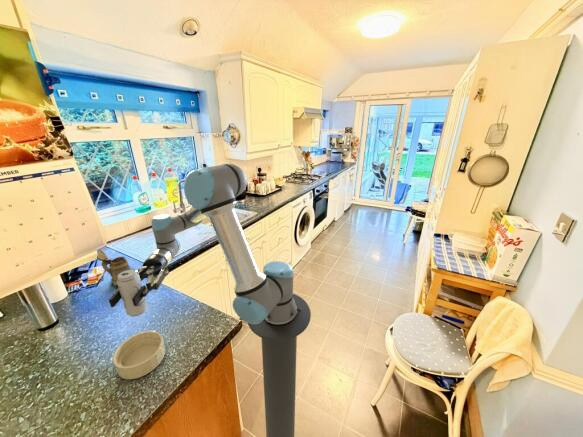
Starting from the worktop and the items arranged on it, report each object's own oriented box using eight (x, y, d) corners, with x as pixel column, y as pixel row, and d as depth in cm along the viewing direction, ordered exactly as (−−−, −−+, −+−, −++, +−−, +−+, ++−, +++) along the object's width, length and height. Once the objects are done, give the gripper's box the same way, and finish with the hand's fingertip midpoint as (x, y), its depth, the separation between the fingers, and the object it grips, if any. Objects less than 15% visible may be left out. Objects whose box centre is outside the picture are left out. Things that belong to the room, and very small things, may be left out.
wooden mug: (106, 276, 116) (95, 244, 109) (137, 273, 119) (128, 241, 113) (97, 288, 108) (85, 254, 101) (130, 283, 111) (121, 250, 105)
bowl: (171, 340, 82) (168, 328, 80) (157, 377, 70) (153, 364, 68) (130, 345, 80) (126, 333, 78) (108, 384, 68) (103, 371, 66)
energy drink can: (144, 316, 77) (133, 278, 71) (123, 319, 76) (111, 280, 70) (150, 303, 82) (141, 267, 77) (131, 306, 81) (120, 269, 76)
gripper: (183, 269, 95) (157, 311, 73) (134, 271, 93) (93, 314, 72) (180, 253, 92) (152, 291, 71) (130, 254, 91) (85, 294, 69)
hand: (122, 302), depth 71 cm, fingers closed on energy drink can, 6 cm apart
